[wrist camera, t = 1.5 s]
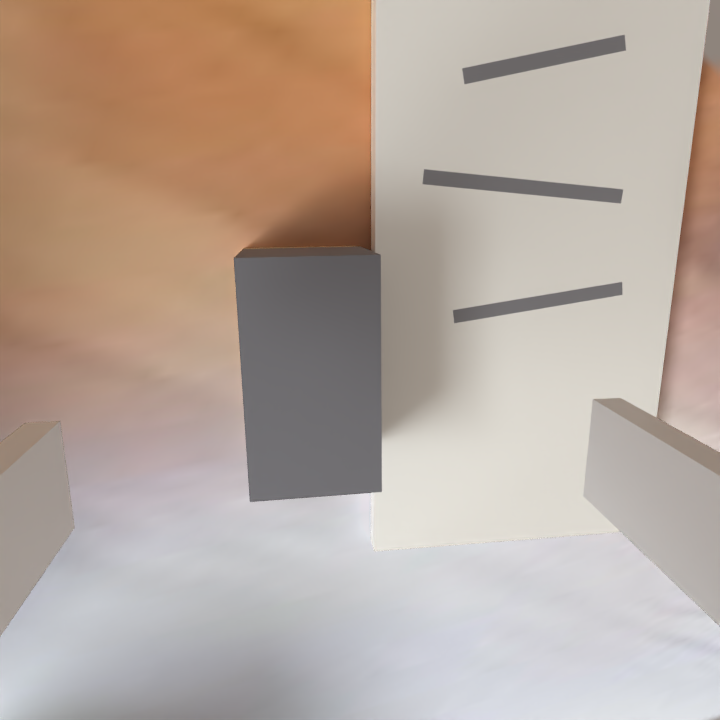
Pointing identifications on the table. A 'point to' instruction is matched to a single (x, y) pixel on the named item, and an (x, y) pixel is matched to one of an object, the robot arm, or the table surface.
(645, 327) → the board
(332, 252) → the block
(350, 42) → the table surface
